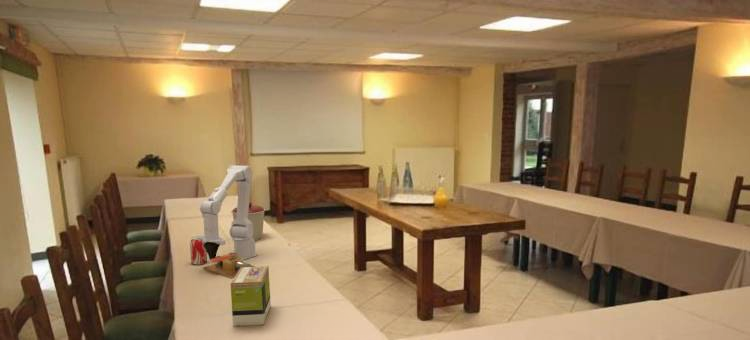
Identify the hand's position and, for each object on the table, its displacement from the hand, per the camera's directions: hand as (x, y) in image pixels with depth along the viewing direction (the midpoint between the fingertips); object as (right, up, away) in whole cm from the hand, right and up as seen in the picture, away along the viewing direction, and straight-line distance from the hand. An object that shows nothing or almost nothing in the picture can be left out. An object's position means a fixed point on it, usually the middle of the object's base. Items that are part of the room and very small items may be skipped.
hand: (212, 259), depth 189 cm
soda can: (-11, -5, +12) cm, 17 cm away
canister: (+1, 0, +53) cm, 52 cm away
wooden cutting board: (+7, -5, +5) cm, 10 cm away
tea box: (+29, -11, -42) cm, 52 cm away
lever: (+5, 0, +1) cm, 5 cm away
